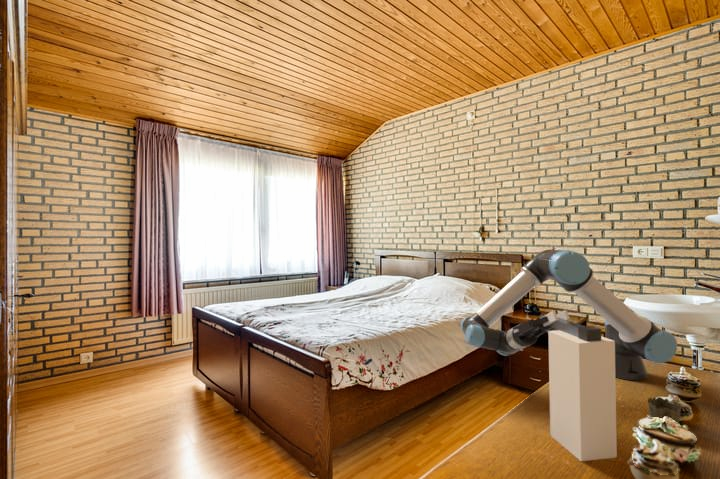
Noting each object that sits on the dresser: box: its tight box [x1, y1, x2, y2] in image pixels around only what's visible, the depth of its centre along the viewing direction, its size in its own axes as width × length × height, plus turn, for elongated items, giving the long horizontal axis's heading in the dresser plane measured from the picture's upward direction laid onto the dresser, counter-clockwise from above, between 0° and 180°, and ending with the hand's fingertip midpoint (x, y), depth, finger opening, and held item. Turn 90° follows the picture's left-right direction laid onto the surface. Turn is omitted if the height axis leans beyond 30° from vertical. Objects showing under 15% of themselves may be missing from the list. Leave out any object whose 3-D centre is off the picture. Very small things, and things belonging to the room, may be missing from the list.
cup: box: [647, 396, 682, 424], centre depth 104 cm, size 8×7×8 cm
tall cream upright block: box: [547, 329, 618, 462], centre depth 98 cm, size 10×12×30 cm
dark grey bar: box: [539, 314, 602, 341], centre depth 102 cm, size 4×20×3 cm, turn 7°
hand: (561, 314), depth 105 cm, fingers closed on dark grey bar, 3 cm apart
